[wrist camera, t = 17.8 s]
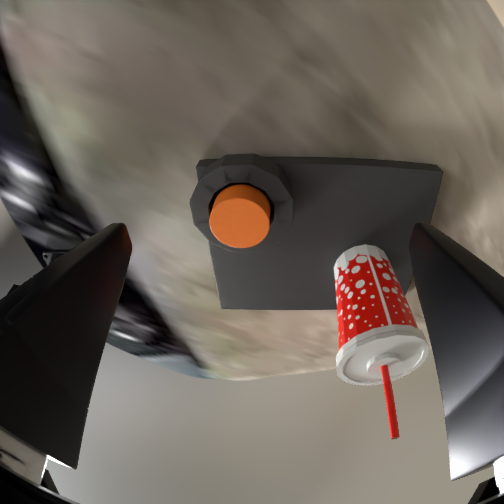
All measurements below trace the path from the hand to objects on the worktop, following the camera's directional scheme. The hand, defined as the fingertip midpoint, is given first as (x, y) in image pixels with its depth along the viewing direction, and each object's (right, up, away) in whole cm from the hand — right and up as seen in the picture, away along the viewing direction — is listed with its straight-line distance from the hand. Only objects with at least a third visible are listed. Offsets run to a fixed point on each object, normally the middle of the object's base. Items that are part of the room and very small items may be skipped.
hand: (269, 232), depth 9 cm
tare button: (-1, +2, +11) cm, 11 cm away
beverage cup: (+8, -2, +15) cm, 17 cm away
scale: (+5, 0, +15) cm, 16 cm away
